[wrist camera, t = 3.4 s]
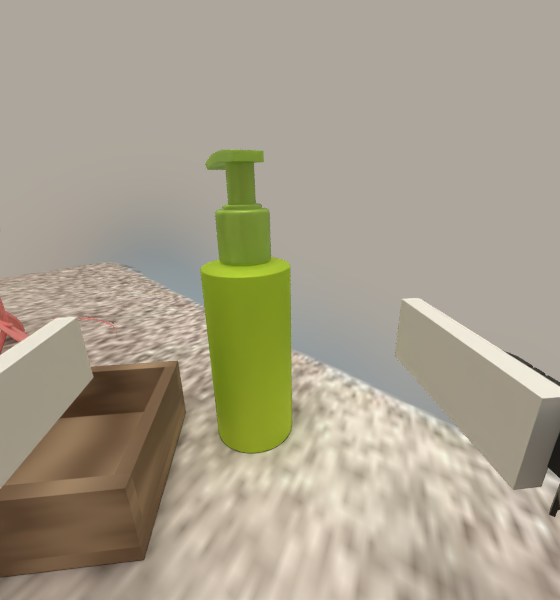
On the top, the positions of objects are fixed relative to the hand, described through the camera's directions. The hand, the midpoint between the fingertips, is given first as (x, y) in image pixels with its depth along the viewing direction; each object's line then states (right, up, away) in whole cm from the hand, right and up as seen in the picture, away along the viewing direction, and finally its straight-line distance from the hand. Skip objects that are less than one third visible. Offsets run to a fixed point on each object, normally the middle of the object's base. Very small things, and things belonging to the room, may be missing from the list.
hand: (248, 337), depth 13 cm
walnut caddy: (-12, -10, +8) cm, 17 cm away
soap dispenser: (-1, -9, +13) cm, 15 cm away
